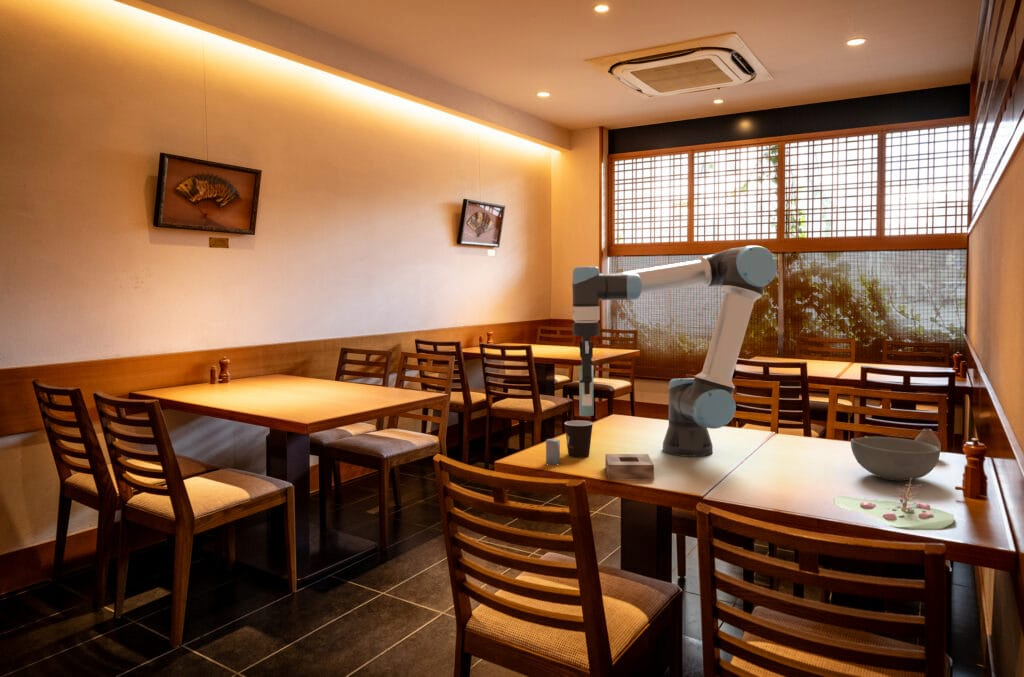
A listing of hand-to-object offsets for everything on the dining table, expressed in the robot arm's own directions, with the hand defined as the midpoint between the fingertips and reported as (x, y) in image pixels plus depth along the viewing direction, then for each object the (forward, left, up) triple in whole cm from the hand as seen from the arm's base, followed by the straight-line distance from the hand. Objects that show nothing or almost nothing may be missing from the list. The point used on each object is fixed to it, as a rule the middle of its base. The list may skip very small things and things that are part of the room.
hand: (586, 403), depth 191 cm
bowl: (-80, +9, -19) cm, 83 cm away
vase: (-100, -13, -19) cm, 103 cm away
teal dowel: (0, 0, -3) cm, 3 cm away
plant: (-66, +36, -19) cm, 78 cm away
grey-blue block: (+10, -4, -19) cm, 21 cm away
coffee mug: (+2, -16, -19) cm, 25 cm away
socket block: (-11, +6, -18) cm, 22 cm away
